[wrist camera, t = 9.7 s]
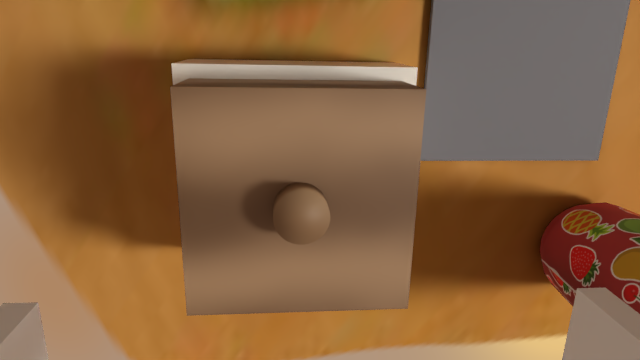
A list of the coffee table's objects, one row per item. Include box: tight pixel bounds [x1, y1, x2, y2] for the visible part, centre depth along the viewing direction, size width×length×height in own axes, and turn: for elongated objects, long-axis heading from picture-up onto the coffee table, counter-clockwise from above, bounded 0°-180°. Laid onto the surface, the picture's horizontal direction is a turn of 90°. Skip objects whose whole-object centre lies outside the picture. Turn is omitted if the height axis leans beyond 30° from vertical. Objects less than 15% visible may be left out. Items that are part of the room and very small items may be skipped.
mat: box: [420, 0, 630, 161], centre depth 28 cm, size 12×12×1 cm
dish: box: [171, 59, 418, 86], centre depth 27 cm, size 12×12×5 cm
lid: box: [170, 78, 426, 315], centre depth 22 cm, size 10×10×5 cm
